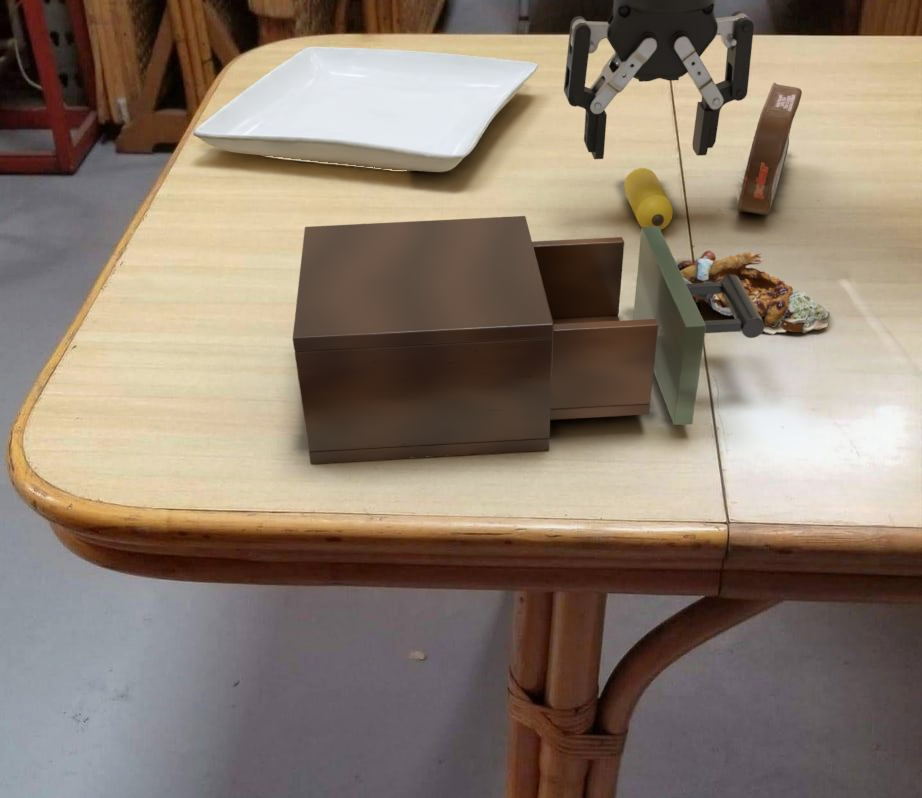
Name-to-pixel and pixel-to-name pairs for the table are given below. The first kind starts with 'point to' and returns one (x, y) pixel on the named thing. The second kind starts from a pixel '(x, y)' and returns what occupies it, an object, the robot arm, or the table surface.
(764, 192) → the brown snack box
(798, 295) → the brown sculpted figurine
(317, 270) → the cabinet
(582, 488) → the table surface
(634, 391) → the drawer
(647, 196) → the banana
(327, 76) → the square plate
